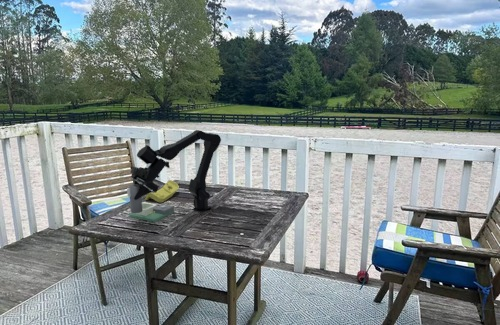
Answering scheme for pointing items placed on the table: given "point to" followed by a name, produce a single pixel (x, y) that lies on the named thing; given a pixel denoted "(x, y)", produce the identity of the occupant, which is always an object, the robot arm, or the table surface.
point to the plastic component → (164, 192)
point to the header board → (153, 212)
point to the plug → (135, 204)
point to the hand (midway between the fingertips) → (132, 197)
